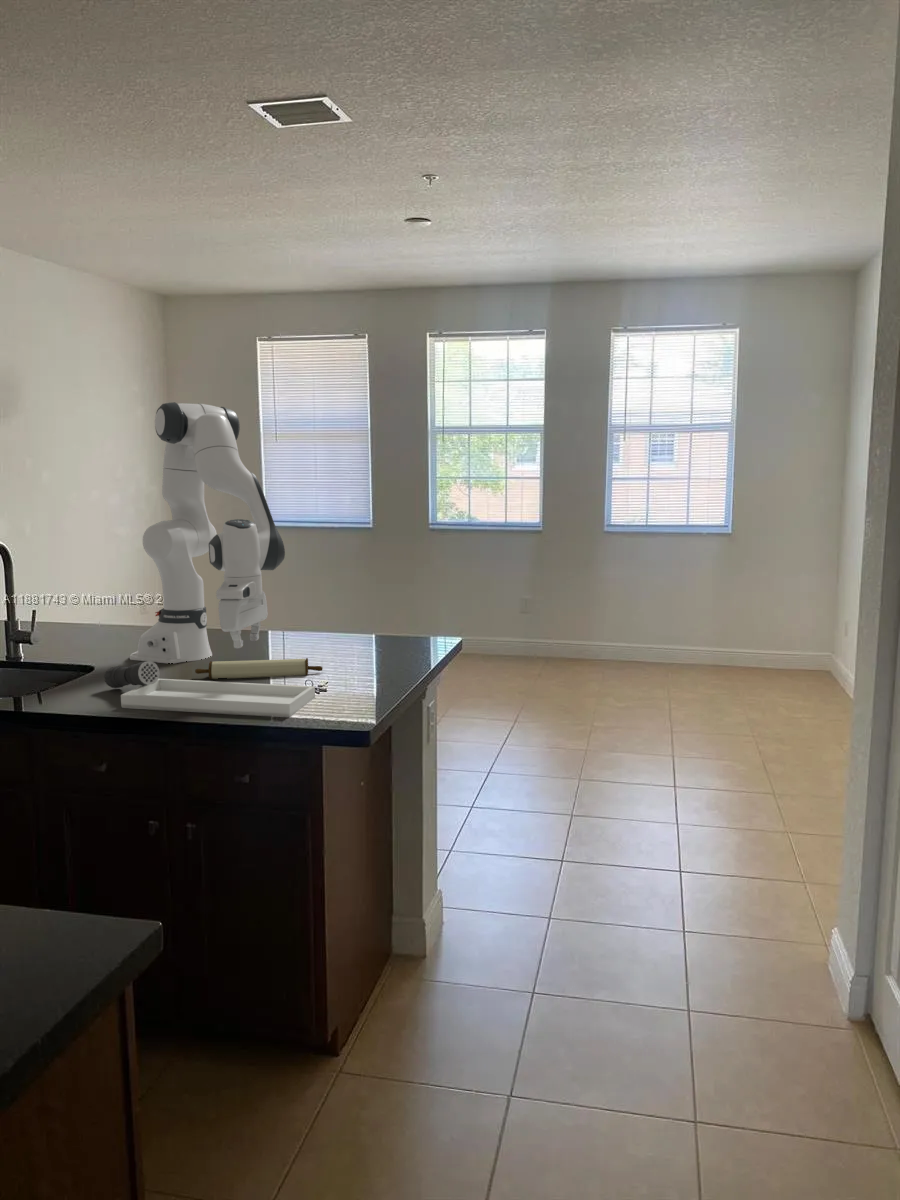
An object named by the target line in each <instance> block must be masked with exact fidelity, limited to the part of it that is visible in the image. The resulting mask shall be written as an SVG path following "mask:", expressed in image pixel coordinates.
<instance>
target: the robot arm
mask: <svg viewBox="0 0 900 1200" xmlns="http://www.w3.org/2000/svg"><path fill="white" fill-rule="evenodd" d="M240 427H241V426H240V420H239V417H238V414H237V413H236V411H234V410H233V409H230V408H229V407H225V406H217V405H216V406H215V405H212V404H206V403H182V402H181V403H177V402H166V403H162V404H161V405H160V406H159V407H158V408H157V410H156V412H155V416H154V430H155V432H156V433H155V434H156V435H157V436H158V438H159V439H160V440H161V441H163V442H164V443H165V442H166V443H165V448H164V455H163V462H162V464H163V465H162V484H161V485H162V486H161V487H162V489H161V495H162V497H163V500H164V501H166V502H167V504H168V505H169V509H170V512H171V516H172V519H170V520H169V519H168V520H162V521H160V522H157V523H154V524H152V525H150V526H148V527H147V528H146V530H145V531H144V532H143V535H142V546H143V549H144V551H145V552H146V554H147V555H148V556H149V558H151V559H152V561H153V562H154V563H155V565H156V568H157V572H158V574H159V576H160V580H161V585H162V598H163V599H162V600H163V608H161V609H160V610H158V611H155V612H154V613H155V615H154V616H155V617H158V621H157V622H156V623H155V624H153V625H152V626H150V628H149V629H147V630H146V631H145V632H143V633H142V634H141V635H140V637H139V638H138V643H137V644H138V645H137V651H135V652H132V653H131V654H129V660H130V661H141V662H147V661H151V662H154V663H159V664H160V663H161V664H168V663H170V665H171V663H173V664H177V663H187V662H194V661H196V662H197V661H202V660H206V659H208V657H209V658H211V657H212V656H213V652H212V650H211V646H210V643H209V638H208V631H207V626H208V625H207V624H208V618H207V615H208V614H207V607H206V606H205V587H204V586H205V585H204V579H203V577H202V576H201V575H199V573H197V569H196V568H195V566H194V563H193V558H196V557H201V556H203V555H205V554H207V553H208V555H209V559H208V560H209V564H210V565H211V566H212V567H214V569H216V570H217V571H222V572H224V573H223V582H222V584H221V585H220V586H219V587H218V589H216V592H215V594H216V595H215V596H216V599H217V600H219V602H218V617H219V618H218V619H219V625H220V629H221V631H222V632H225V633H227V632H228V633H229V634H230V637H231V639H232V641H233V648H234V649H241V648H243V647H244V640H243V639H242V636H241V634H242V630H243V629H246V628H248V627H251V628H250V633H249V640H250V641H251V642H256V641H258V640H259V639H260V629H261V622H262V621H264V620H267V619H268V615H269V614H268V613H269V612H268V604H267V603H268V602H267V596H266V592H265V591H264V590H263V577H262V576H263V575H262V571H274V570H276V569H278V567H279V566H280V565H281V564H282V563H283V561H284V560H285V558H286V556H285V555H286V550H285V543H284V541H283V539H282V536H281V535H280V533H279V530H278V529H277V526H276V525H275V522H274V519H273V518H274V517H273V516H272V513H271V511H270V507H269V505H268V502H267V499H266V496H265V494H264V491H263V489H262V486H261V483H260V482H259V480H258V477H257V476H256V474H254V473H253V472H252V471H250V470H249V469H247V467H246V466H245V464H244V463H243V461H242V460H241V457H240V453H239V449H238V444H237V440H238V438H239V435H240V430H241V429H240ZM205 485H207V486H208V488H211V489H213V490H215V491H218V492H221V493H225V494H228V495H231V496H233V497H236V498H238V499H240V500H241V501H242V502H244V503H245V504H246V505H247V507H248V509H249V512H250V515H251V517H252V520H249V519H238V518H237V519H230V520H227V521H226V522H224V523H223V526H222V531H221V532H220V533H219V534H217V533H218V532H217V530H216V528H215V526H214V525H213V524H212V522H211V521H210V519H209V516H208V512H207V507H206V503H205V502H206V501H205ZM210 656H211V657H210ZM205 658H206V659H205ZM201 659H202V660H201ZM186 661H187V662H186Z"/></svg>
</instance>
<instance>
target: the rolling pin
mask: <svg viewBox="0 0 900 1200" xmlns="http://www.w3.org/2000/svg"><path fill="white" fill-rule="evenodd" d="M309 671H318V672H322V671H323V666H321V665H309V658H308V657H306V658H287V659H260V660H258V659H256V660H230V661H229V660H226V661H225V660H224V661H221V660H220V661H218V660H216V661H212V660H211V661H209V664H208V668H207V669H205V668H196V669H195V670H194V673H195V674H197V675H200V674H208V679H209V680H218V678H227V679H247V678H249V679H250V678H252V679H253V678H254V679H255V678H271V677H274V678H276V677H289V676H290V677H291V676H293V677H295V676H296V677H297V676H308V675H309Z"/></svg>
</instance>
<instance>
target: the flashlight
mask: <svg viewBox="0 0 900 1200" xmlns="http://www.w3.org/2000/svg"><path fill="white" fill-rule="evenodd" d="M158 679H160V668H159V666H158V664H156V662H151V661H141V662H138V663H135V664H130V665H129V666H120V665H118V666H112V667H110V668H109V669H107V670H106V672H105V674H104V683H105V684H106V685H107V686H108V687H110V688H112V689H118V688H119V689H120V688H123V687H125V686H126V687H127V686H129V685H133V686H142V685H150V684H154V683H155V682H156V681H157V680H158Z"/></svg>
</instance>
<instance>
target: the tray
mask: <svg viewBox="0 0 900 1200" xmlns="http://www.w3.org/2000/svg"><path fill="white" fill-rule="evenodd" d="M315 698H316V686H313V685H312V686H310V685H294V684H293V685H292V684H272V683H255V682H254V683H252V682H250V683H249V682H236V681H235V682H231V681H217V680H216V681H213V680H198V679H197V680H194V679H193V680H192V679H178V678H177V679H175V678H174V679H172V678H171V679H170V678H158V680H157V681H156V682H155V683H154V684H150V685H139V686H138V687H136V688H135V687H134V688H133V689H130V690H129V691H126V692H125V693H122V694H120V705H121V707H120V708H121V709H135V710H152V711H169V712H186V713H187V712H188V713H190V712H191V713H200V714H201V713H203V714H221V715H222V714H223V715H240V716H241V715H242V716H256V717H260V716H261V717H275V718H276V717H278V718H291V717H292V716H294V715H295V714H297V712H299V711H300V710H301V709H302V708H304V707H305V706H306V705H308V704H309V703H310V702H311V701H313V700H314V699H315Z"/></svg>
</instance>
